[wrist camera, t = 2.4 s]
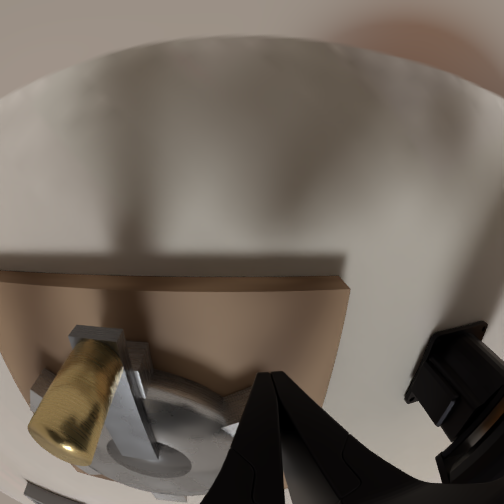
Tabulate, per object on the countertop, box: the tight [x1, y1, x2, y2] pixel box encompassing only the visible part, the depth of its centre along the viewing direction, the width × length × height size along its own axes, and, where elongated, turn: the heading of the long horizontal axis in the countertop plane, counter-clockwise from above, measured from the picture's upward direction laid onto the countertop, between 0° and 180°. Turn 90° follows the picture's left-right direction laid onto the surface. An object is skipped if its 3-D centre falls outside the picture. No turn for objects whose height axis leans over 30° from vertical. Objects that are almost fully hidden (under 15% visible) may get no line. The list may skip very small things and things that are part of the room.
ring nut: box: [28, 325, 252, 502], centre depth 10 cm, size 14×17×7 cm
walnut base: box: [0, 271, 350, 489], centre depth 15 cm, size 20×20×2 cm
